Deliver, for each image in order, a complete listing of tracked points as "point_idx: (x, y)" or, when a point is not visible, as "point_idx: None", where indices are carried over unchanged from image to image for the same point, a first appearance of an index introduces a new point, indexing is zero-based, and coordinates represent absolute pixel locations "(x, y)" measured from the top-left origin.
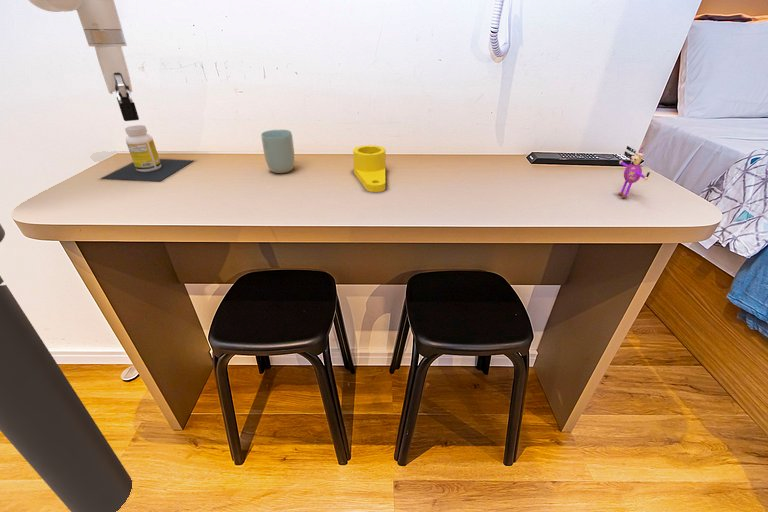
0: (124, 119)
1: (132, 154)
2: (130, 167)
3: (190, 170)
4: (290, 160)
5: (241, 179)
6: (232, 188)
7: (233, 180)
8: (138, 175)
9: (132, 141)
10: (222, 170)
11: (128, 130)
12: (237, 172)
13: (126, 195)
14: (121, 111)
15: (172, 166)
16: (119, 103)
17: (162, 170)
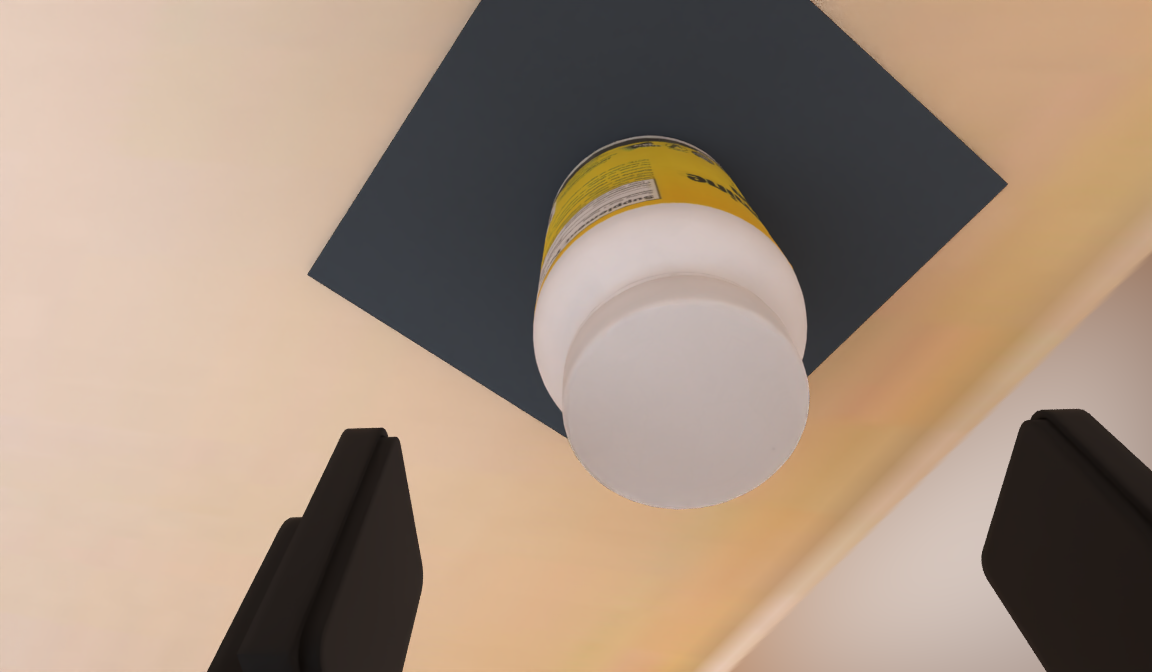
0: (343, 444)
1: (596, 189)
2: (785, 86)
3: (471, 461)
4: None
5: (178, 646)
6: (42, 590)
7: (174, 615)
8: (512, 139)
9: (558, 280)
10: None
11: (599, 331)
12: None
13: (71, 28)
14: (298, 532)
15: None
16: (262, 667)
17: None
